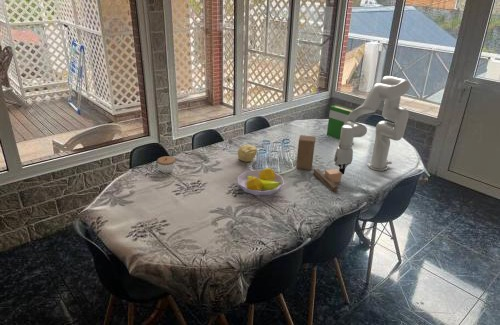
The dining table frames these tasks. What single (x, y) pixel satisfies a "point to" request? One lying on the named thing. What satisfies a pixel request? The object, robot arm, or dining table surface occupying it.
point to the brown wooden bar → (326, 180)
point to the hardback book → (337, 120)
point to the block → (333, 175)
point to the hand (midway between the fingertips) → (341, 173)
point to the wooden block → (305, 152)
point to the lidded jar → (166, 164)
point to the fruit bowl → (260, 182)
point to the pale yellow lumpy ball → (247, 153)
